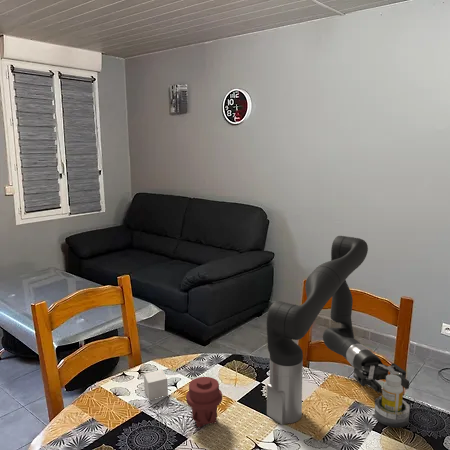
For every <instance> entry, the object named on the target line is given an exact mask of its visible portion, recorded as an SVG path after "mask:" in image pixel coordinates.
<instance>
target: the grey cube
mask: <svg viewBox="0 0 450 450" xmlns="http://www.w3.org/2000/svg"><path fill="white" fill-rule="evenodd" d="M143 382H144V383H143V384H144V385H143V387H144V392H146V393H145V394H147V395H146V397H147V396H148V397H147V399H148V398H149V399H148V401H149V400H150V401H152V400H151V399H154V400H156V399H155V398H158V399H160V398H159V397H162V396H166V395H168V396H169V387H168V377H167V376H166V374H165V372H164V371H163V369H160V370H154V371H150V372H146V373H143ZM166 397H167V396H166ZM162 398H163V397H162Z"/></svg>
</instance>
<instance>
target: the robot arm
mask: <svg viewBox="0 0 450 450" xmlns="http://www.w3.org/2000/svg"><path fill="white" fill-rule="evenodd" d="M368 250H369V246H368V243H367V241H365V240H364V239H362V238H359V237H354V236H346V235H345V236H344V235H338V236H336V237H335V238H334V239H333V241H332V244H331V251H330V258H331V259H330V260H329V261H326V262H323V263H321V264H320V265H318V266H317V267H315V268H314V270H313V271H312V272H311V273H310V274H309V275H308V276H307V278H306V281H305V288H304V289H305V295H306V300H305V301H304V302H303V303H302V304H300V305H297V304H293V303H289V302H285V301H280V300H277V301H274V302H273V303H272V304H271V305H270V306H269V308H268V311H267V316H266V338H267V340H266V341H267V351H268V353H269V383H267V385H266V415H267V416H268V417H270V418H271V419H272V420H273V421H276V423H278V424H280V425H285V424H294V423H296V422H299V421H300V420H301V418H302V415H303V413H302V412H303V409H302V408H303V366H304V365H303V361H304V353H303V349H302V347H301V346H300V345H299V344H298V343H296V341H299V340H301V339H302V338H303V339H304V337H305V336H306V334H307V333H309V330H310V329H311V328H312V326H313V324H314V322H315V321H316V319H317V318H318V316H319V315H320V313H321V311H322V309H324V307H325V306H326V304H327V303H328V302H329V300H331V305H330V306H331V307H330V320H331V321H332V322H335V323H338V324H340V325H341V327H329V328H326V329H325V330H324V332H323V334H322V340H323V343H324V345H325V346H326V348H327V349H329V350H330V351H332V352H333V353H336V354H338V355H340V356H342V357H343V358H344V359H345V360H346V361H347V362H348V363H349V364H350V365H351V366H352V367H353V378H354V379H355V380H356V381H357V383H358V384H359V385H360V386H362V387H366V386H368V387H369V388H371V389H373V391H375V392H376V393H378V394H382V390H383V385H381V383H379V382H378V381H382V380H386V376H387V375H389V373H390V374H393V375H397V376H399V377H400V378H401V385H402V387H403V389H405V390H408V389H410V381H409V379H407V371H406V370H404V369H403V368H401V366H398V365H397V364H396V363H393V362H392V363H390V365H389V366H388V365H386V364H384V363H383V362H382V360H381V358H380V357H379V356H377V355H376V353H374V352H373V351H372V350H370V349H369V348H368V347H366V346H365V345H364V344H362V343H360V341H358V340H357V339H356V338H355V335H354V334H355V333H354V329H353V322H352V321H353V320H352V312H353V303H354V302H353V301H354V300H353V299H354V298H353V295H352V292H351V289H350V287H349V284H348V282H347V279H348V278H349V276H350V275H351V274H352V273H353V272H354V271H355V270H356V269H358V268H359V267H360V266H361V265H362V264H363V262H364V261H365V259H366V258H367V254H368V253H369V252H368Z"/></svg>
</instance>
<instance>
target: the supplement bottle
mask: <svg viewBox="0 0 450 450" xmlns="http://www.w3.org/2000/svg"><path fill="white" fill-rule="evenodd" d="M381 396H382V408H383V409H385V410H387V411H390V412H395V413H396V412H401V411H402V400H404V399H403V396H404V387H403V386H402V385H401V378H400V377H399V376H397V375H393V374H389V373H388V375H387V376H386V379H385V382H384V383H383V384H382V392H381Z"/></svg>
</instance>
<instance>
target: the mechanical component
mask: <svg viewBox="0 0 450 450" xmlns="http://www.w3.org/2000/svg"><path fill="white" fill-rule="evenodd" d="M185 397H186V399H185V400H186V404H187V405H188V406H189V407H191V416H192V420H193V421H195V423H196V425H195V426H196V427H197V428H202V427H204V426H205V425H209V424H210V423H211V424H216V423H217V417H218V412H217V411H218V406H219V405H220V404H221V403H222V400H223V392H222V391H221V389H220V383H219V381H218V380H217V379H216V378H214V377H211V376H199V377H196V378H194V379H191V381H190V382H189V384H188V391H187V392H186V396H185Z"/></svg>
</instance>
